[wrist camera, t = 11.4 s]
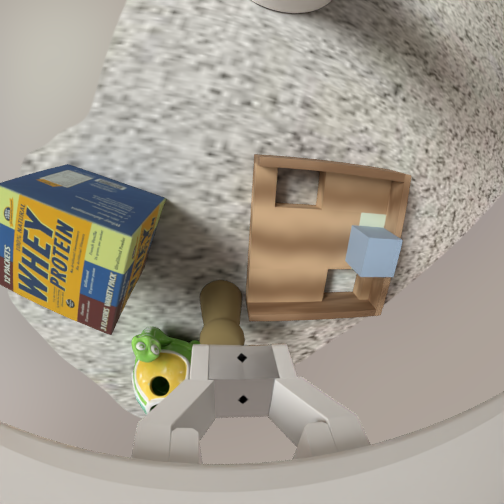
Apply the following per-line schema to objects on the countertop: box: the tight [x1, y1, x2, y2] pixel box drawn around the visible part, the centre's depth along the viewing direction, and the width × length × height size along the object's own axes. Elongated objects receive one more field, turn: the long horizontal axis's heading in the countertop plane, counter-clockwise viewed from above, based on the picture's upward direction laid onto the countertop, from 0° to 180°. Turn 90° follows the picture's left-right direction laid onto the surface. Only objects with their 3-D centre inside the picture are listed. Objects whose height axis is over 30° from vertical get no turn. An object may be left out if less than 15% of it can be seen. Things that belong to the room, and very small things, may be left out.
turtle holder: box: [132, 327, 200, 414], centre depth 39 cm, size 12×18×12 cm
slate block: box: [345, 225, 403, 277], centre depth 36 cm, size 5×5×5 cm
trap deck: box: [246, 154, 411, 321], centre depth 37 cm, size 20×19×6 cm
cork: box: [200, 280, 245, 345], centre depth 36 cm, size 6×6×11 cm
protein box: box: [0, 164, 166, 335], centre depth 28 cm, size 10×15×16 cm
